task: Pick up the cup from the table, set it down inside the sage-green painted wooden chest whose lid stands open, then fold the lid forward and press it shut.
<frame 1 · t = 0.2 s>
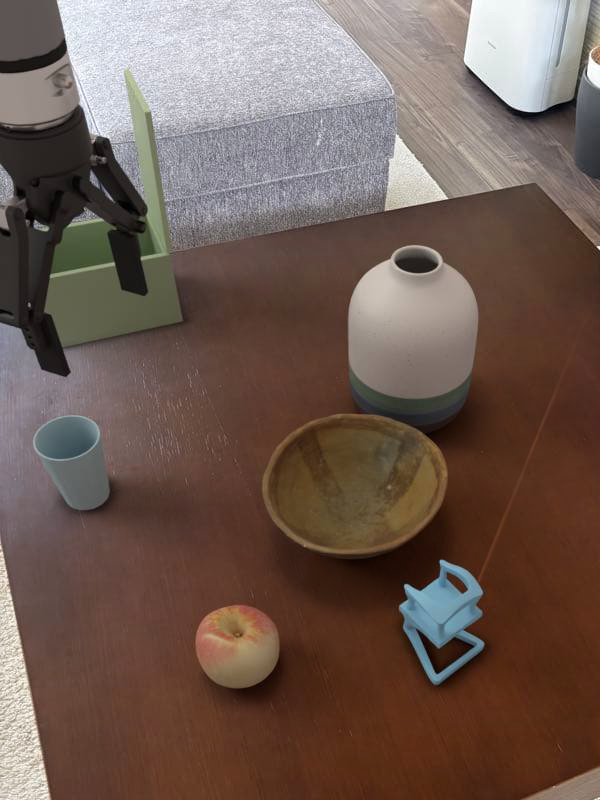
hand: (97, 329, 84), 30 cm above the table, tool pointing down, fingers open, 13 cm apart
bowl: (356, 530, 109), on the table
chest: (113, 311, 134), on the table
lid: (148, 163, 120), point 22 cm above the table, hinge at 92.0°
chair: (435, 644, 99), on the table
apple: (243, 667, 96), on the table
vase: (408, 407, 124), on the table
cup: (88, 496, 111), on the table
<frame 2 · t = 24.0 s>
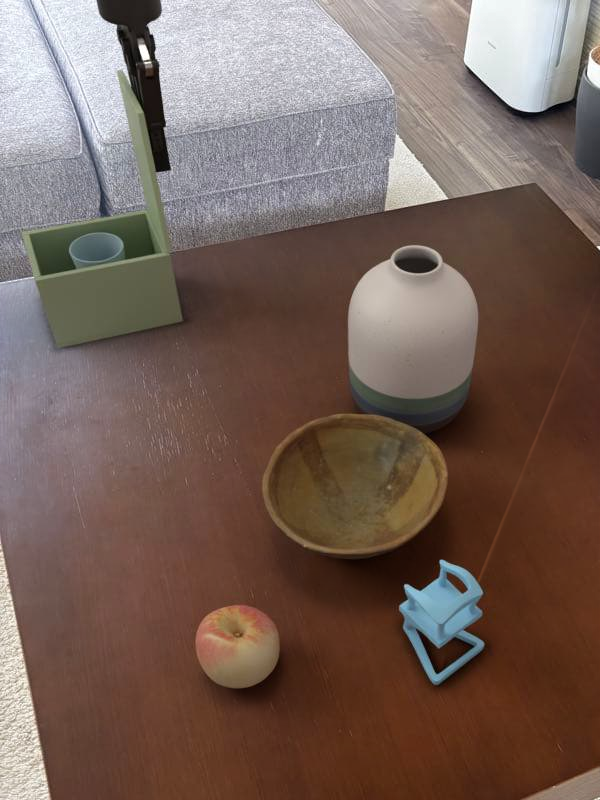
hand: (160, 169, 121), 21 cm above the table, tool pointing down, fingers closed
lid: (145, 164, 119), point 22 cm above the table, hinge at 89.3°, touching gripper
cup: (112, 307, 134), point 1 cm above the table, touching chest
everything else where it was.
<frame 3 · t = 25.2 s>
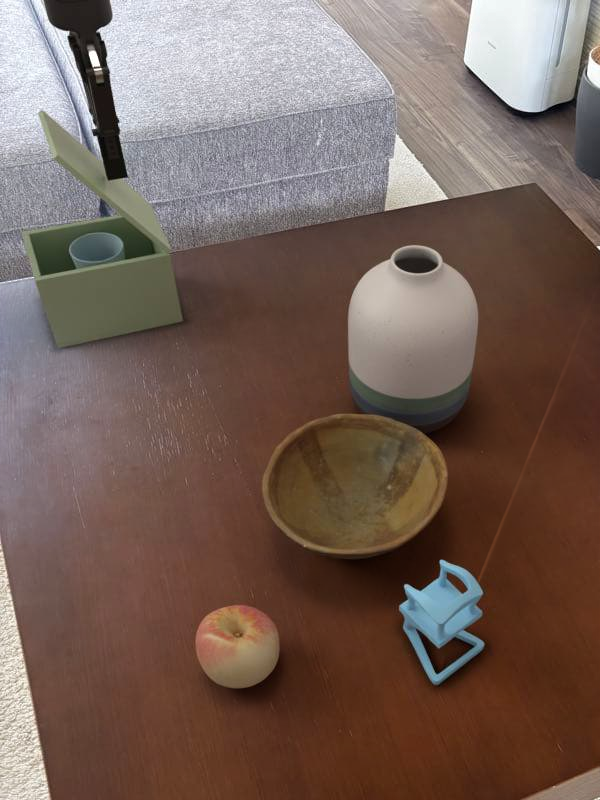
hand: (117, 176, 119), 21 cm above the table, tool pointing down, fingers closed
lid: (106, 183, 119), point 20 cm above the table, hinge at 54.0°
everything else where it was.
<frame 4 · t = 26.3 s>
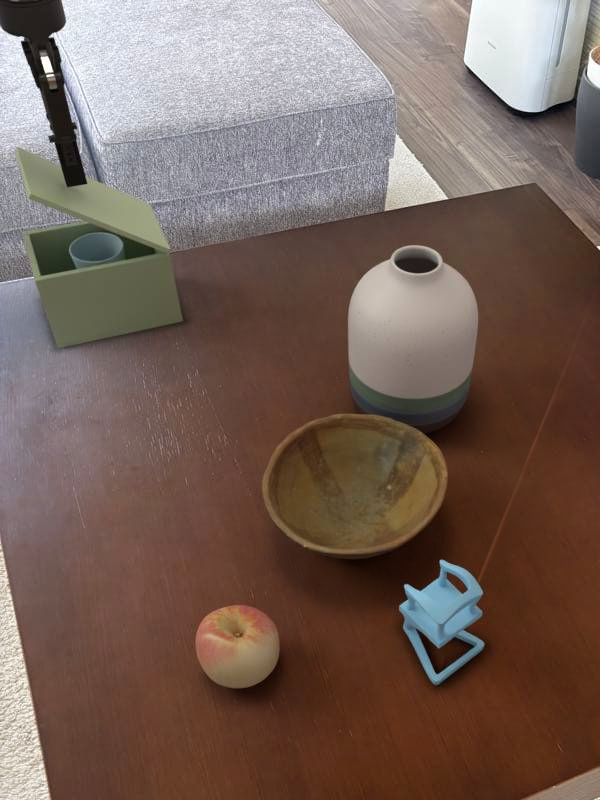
hand: (76, 182, 118), 21 cm above the table, tool pointing down, fingers closed
lid: (94, 201, 120), point 18 cm above the table, hinge at 35.7°
everything else where it was.
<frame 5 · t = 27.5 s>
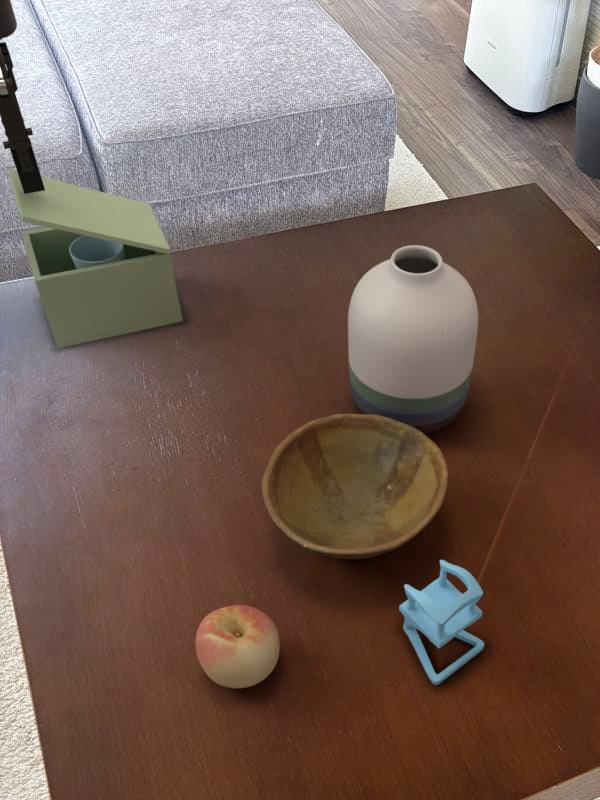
hand: (33, 189, 116), 21 cm above the table, tool pointing down, fingers closed
lid: (90, 212, 121), point 17 cm above the table, hinge at 26.1°
everything else where it was.
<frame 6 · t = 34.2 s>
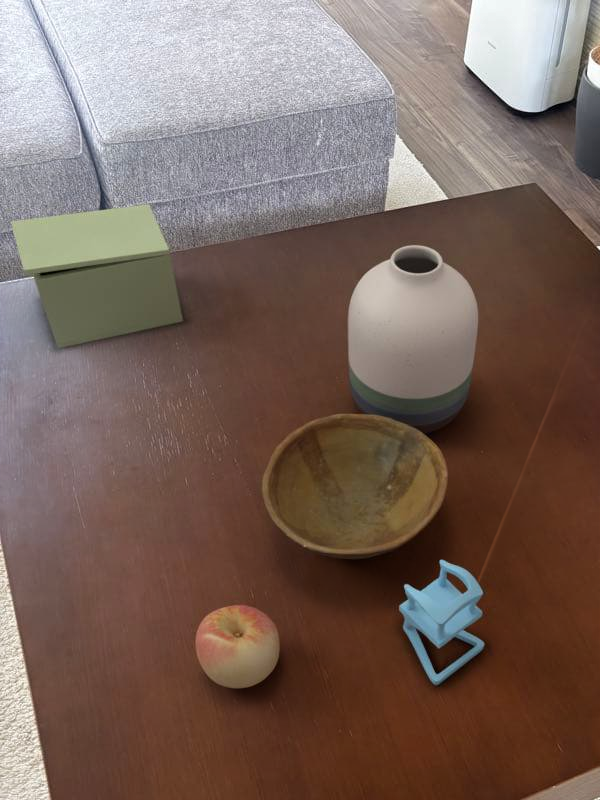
lid: (90, 237, 124), point 13 cm above the table, hinge at 3.1°
everything else where it was.
at the end: cup inside the target area in the chest (0.0 cm from its centre), point 0.7 cm above the chest's base; cup tilted 0°; lid at +3° (first picture: +92°) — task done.
